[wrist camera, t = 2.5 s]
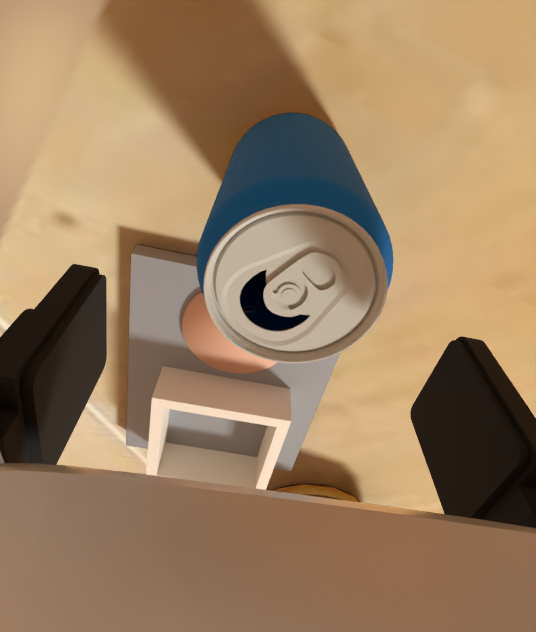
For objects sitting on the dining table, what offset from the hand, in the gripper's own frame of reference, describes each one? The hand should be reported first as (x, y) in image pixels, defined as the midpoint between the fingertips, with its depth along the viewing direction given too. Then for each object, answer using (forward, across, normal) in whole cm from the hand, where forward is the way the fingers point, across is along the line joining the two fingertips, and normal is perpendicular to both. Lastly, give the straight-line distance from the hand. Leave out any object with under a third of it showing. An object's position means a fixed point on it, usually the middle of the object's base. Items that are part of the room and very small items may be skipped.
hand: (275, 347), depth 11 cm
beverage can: (+14, -1, -1) cm, 14 cm away
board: (+14, 0, +14) cm, 20 cm away
